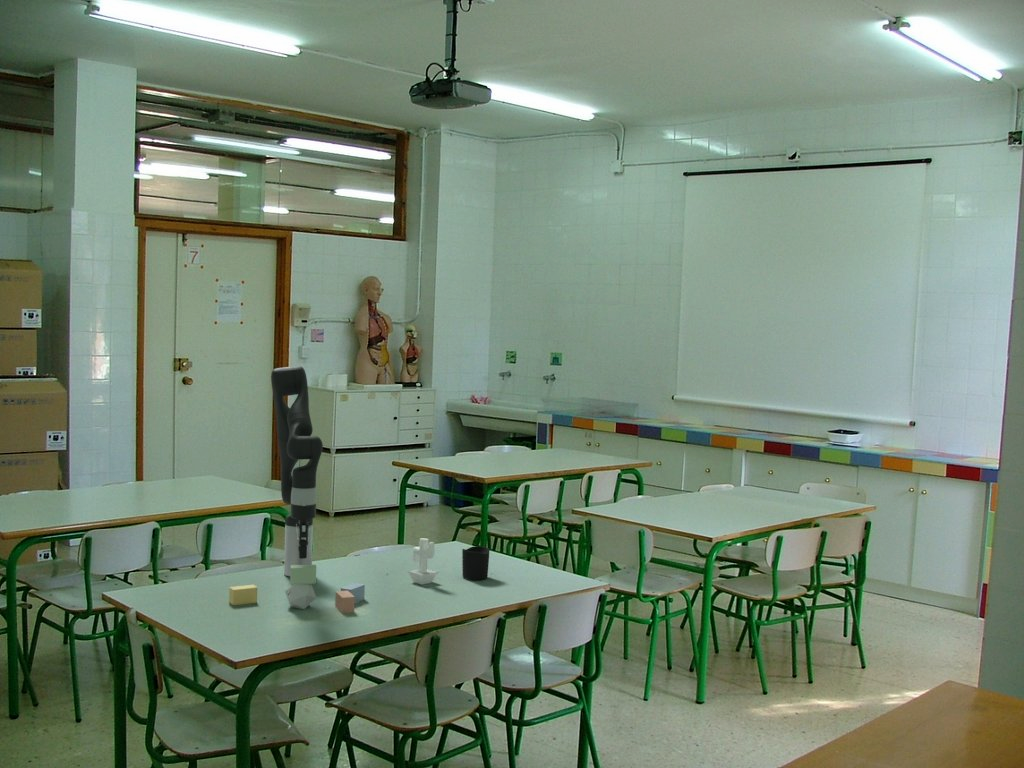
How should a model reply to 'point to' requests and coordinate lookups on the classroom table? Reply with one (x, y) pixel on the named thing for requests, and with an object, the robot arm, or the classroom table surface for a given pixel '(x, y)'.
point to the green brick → (303, 574)
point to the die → (300, 595)
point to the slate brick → (356, 591)
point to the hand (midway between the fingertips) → (302, 554)
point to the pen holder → (475, 563)
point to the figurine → (423, 562)
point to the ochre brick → (243, 594)
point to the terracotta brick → (344, 601)
